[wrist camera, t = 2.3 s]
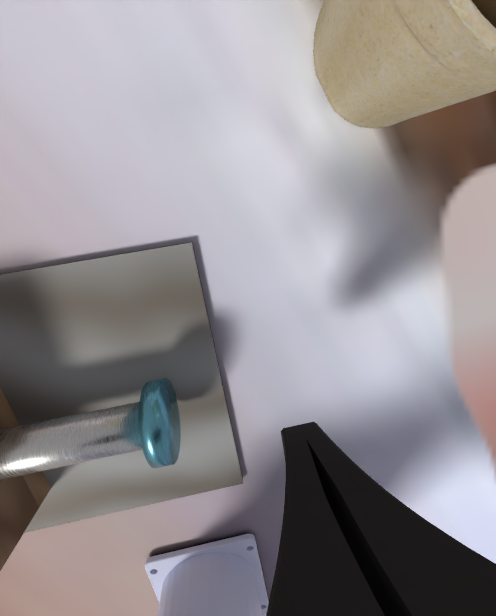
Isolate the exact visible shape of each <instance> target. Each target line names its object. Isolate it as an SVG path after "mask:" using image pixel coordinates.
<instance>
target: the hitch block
mask: <svg viewBox="0 0 496 616" xmlns="http://www.w3.org/2000/svg"><path fill="white" fill-rule="evenodd" d="M162 378H167V379H168V380H169V381H170V382H171V384H172V386H173V389H174V391H175V395H176V398H177V403H178V408H179V416H180V428H181V441H180V451H179V456H178V459H177V461H176V463H175V464H173V465H169V466H165V467H160V468H156V469H155V468H152V467H151V466H150V465H149V464H148V462H147V460H146V458H145V456H144V453H143V450H138V451H134V452H129V453H124V454H120V455H115V456H110V457H105V458H101V459H96V460H91V461H87V462H82V463H77V464H73V465H68V466H63V467H59V468H54V469H49V470H44V471H40V472H35V473H30V474H26V475H21V476H16V477H12V478H7V479H2V480H0V570H1V569H2V567H3V566H4V564H5V562H6V561H7V559H8V557H9V556H10V554H11V553H12V551H13V549H14V548H15V546H16V545H17V543H18V541H19V540H20V538H21V536H22V535H23V533H25V532H30V531H34V530H39V529H43V528H47V527H52V526H56V525H61V524H65V523H70V522H74V521H78V520H83V519H87V518H92V517H96V516H101V515H105V514H109V513H114V512H118V511H123V510H127V509H132V508H136V507H140V506H145V505H149V504H154V503H158V502H163V501H167V500H172V499H176V498H180V497H185V496H189V495H194V494H198V493H203V492H207V491H211V490H216V489H220V488H225V487H229V486H234V485H238V484H242V483H243V478H242V473H241V468H240V464H239V459H238V454H237V450H236V445H235V440H234V436H233V431H232V426H231V422H230V417H229V412H228V408H227V403H226V398H225V394H224V389H223V384H222V380H221V375H220V370H219V366H218V361H217V356H216V352H215V347H214V342H213V338H212V333H211V328H210V324H209V319H208V314H207V310H206V305H205V300H204V296H203V291H202V286H201V282H200V277H199V272H198V268H197V263H196V258H195V254H194V249H193V244H192V242H190V243H184V244H178V245H172V246H166V247H160V248H154V249H148V250H142V251H136V252H130V253H124V254H119V255H113V256H107V257H101V258H95V259H89V260H83V261H77V262H71V263H65V264H59V265H53V266H47V267H41V268H35V269H29V270H23V271H18V272H12V273H6V274H0V430H2V429H7V428H12V427H17V426H22V425H27V424H32V423H37V422H42V421H47V420H52V419H57V418H61V417H66V416H71V415H76V414H81V413H86V412H91V411H96V410H101V409H106V408H111V407H116V406H121V405H126V404H131V403H136V402H140V396H141V392H142V389H143V387H144V385H145V383H146V382H148V381H152V380H157V379H162Z"/></svg>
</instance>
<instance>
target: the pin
mask: <svg viewBox="0 0 496 616" xmlns="http://www.w3.org/2000/svg"><path fill="white" fill-rule="evenodd" d="M180 441H181V428H180V416H179V408H178V403H177V398H176V395H175V391H174V389H173V386H172V384H171V382H170V381H169V380H168V379H167V378H162V379H157V380H152V381H148V382H146V383H145V385H144V387H143V389H142V392H141V396H140V402H136V403H131V404H126V405H121V406H116V407H111V408H106V409H101V410H96V411H91V412H86V413H81V414H76V415H71V416H66V417H61V418H57V419H52V420H47V421H42V422H37V423H32V424H27V425H22V426H17V427H12V428H7V429H2V430H0V480H2V479H7V478H12V477H16V476H21V475H26V474H30V473H35V472H40V471H44V470H49V469H54V468H59V467H63V466H68V465H73V464H77V463H82V462H87V461H91V460H96V459H101V458H105V457H110V456H115V455H120V454H124V453H129V452H134V451H138V450H143V453H144V456H145V458H146V460H147V462H148V464H149V465H150V466H151V467H152V468H155V469H156V468H160V467H165V466H169V465H173V464H175V463H176V461H177V459H178V456H179V451H180Z"/></svg>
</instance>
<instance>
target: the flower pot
mask: <svg viewBox="0 0 496 616" xmlns="http://www.w3.org/2000/svg"><path fill="white" fill-rule="evenodd" d="M313 52H314V66H315V72H316V76H317V78H318V80H319V82H320V84H321V86H322V88H323V90H324V92H325V94H326V96H327V98H328V100H329V102H330V104H331V106H332V108H333V109H334V110H335V111H336V112H337V113H338V114H339V115H340V116H341V117H342V118H344V119H345V120H347V121H348V122H350V123H352V124H355V125H357V126H360V127H366V128H382V127H388V126H392V125H395V124H397V123H399V122H402V121H405V120H408V119H411V118H413V117H416V116H419V115H422V114H426V113H429V112H432V111H435V110H438V109H441V108H444V107H447V106H450V105H453V104H456V103H459V102H462V101H465V100H468V99H472V98H475V97H478V96H481V95H484V94H487V93H490V92H493V91H496V0H324V2H323V5H322V8H321V10H320V13H319V17H318V20H317V23H316V28H315V35H314V50H313Z"/></svg>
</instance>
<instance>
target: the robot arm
mask: <svg viewBox="0 0 496 616" xmlns="http://www.w3.org/2000/svg"><path fill="white" fill-rule="evenodd" d="M281 435H282V442H283V449H284V455H285V462H286V487H285V504H284V515H283V524H282V532H281V539H280V546H279V552H278V559H277V564H276V570H275V575H274V580H273V585H272V590H271V594H270V599H269V601H268V596H267V591H266V587H265V582H264V577H263V573H262V568H261V563H260V559H259V554H258V549H257V545H256V540H255V536H254V535H252V534H244V535H240V536H236V537H232V538H228V539H223V540H219V541H215V542H211V543H206V544H202V545H198V546H194V547H190V548H185V549H181V550H177V551H173V552H169V553H164V554H160V555H156V556H152V557H149V558H148V559H147V560H146V563H145V569H146V572H147V574H148V577H149V579H150V581H151V584H152V586H153V589H154V591H155V594H156V596H157V598H158V601H159V609H158V616H496V564H495V563H493V562H491V561H490V560H488V559H486V558H485V557H483V556H481V555H480V554H478V553H476V552H475V551H473V550H471V549H470V548H468V547H466V546H465V545H463V544H462V543H460V542H459V541H457V540H456V539H454V538H452V537H451V536H449V535H448V534H446V533H445V532H443V531H442V530H440V529H439V528H437V527H436V526H434V525H432V524H431V523H429V522H428V521H426V520H425V519H424V518H422V517H421V516H419V515H418V514H417V513H415V512H414V511H412V510H411V509H410V508H408V507H407V506H406V505H404V504H403V503H402V502H400V501H399V500H398V499H396V498H395V497H394V496H392V495H391V494H390V493H389V492H387V491H386V490H385V489H384V488H383V487H381V486H380V485H379V484H378V483H377V482H375V481H374V480H373V479H372V478H371V477H370V476H368V475H367V474H366V473H365V472H364V471H363V470H362V469H361V468H359V467H358V466H357V465H356V464H355V463H354V462H353V461H352V460H351V459H350V458H349V457H348V456H347V455H346V454H345V453H344V452H343V451H342V450H341V449H340V448H339V447H338V446H337V445H336V444H335V443H334V442H333V441H332V440H331V439H330V438H329V437H328V436H327V435H326V434H325V433H324V432H323V430H322V429H321V428H320V427H319V426H318V425H317V424H316V423H315V422H311V423H306V424H302V425H297V426H292V427H288V428H283V430H282V431H281Z"/></svg>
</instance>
